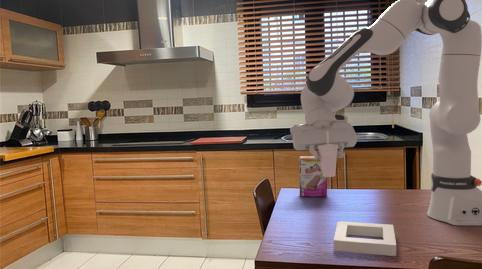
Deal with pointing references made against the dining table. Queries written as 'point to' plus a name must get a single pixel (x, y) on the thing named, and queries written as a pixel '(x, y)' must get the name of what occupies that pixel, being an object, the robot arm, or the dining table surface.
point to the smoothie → (328, 158)
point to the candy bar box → (311, 177)
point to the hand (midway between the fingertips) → (329, 157)
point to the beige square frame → (362, 244)
